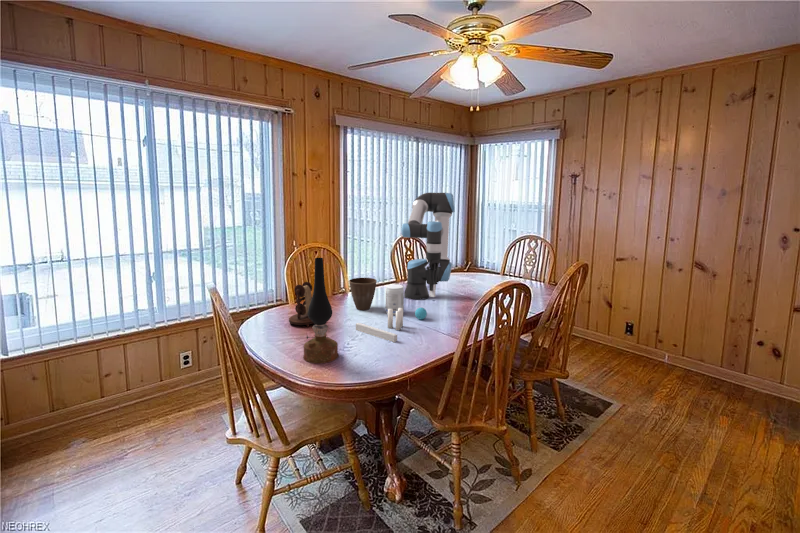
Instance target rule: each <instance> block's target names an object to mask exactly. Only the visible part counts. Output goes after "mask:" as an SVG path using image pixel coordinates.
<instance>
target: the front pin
mask: <svg viewBox="0 0 800 533" xmlns="http://www.w3.org/2000/svg"><path fill="white" fill-rule="evenodd" d="M398 311H401V328H403V327H402V326H404V312H403V308H398Z"/></svg>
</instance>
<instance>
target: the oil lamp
mask: <svg viewBox="0 0 800 533" xmlns="http://www.w3.org/2000/svg"><path fill="white" fill-rule="evenodd" d="M324 269H325V268H324V258H323V257H315V258H314V276H313V277H314V279H313V280H314V282H313V292H312V295H311V297H312V299H311V302H310V305H309V308H308V317H309V319H310V320H311V321H312V322H314V323H313V326H312V330H313V333H314V336H308V334H307V335H306V340H307V341H306V342H305V343H304V344H303V357H302V358H303V361H305V362H307V363H310V364H326V363H327V364H328V363H332V362H334V361H335V360H337V359H338V358H339V353H338V349H339V348H338V345H339V344H338V342H337V340H334V339H332V338H330V337H329V336H327V331H328V329H329V325H328V324H327V323H328V322H329V320H330V319H331V318H332V316H333V308H332V305H331V303H330V301H329V297H328V295H327V294H328V293H327V292H326V290H327V289H326V285H325V284H326V282H325V272H324V271H325V270H324ZM309 338H311V339H309ZM308 339H309V340H308Z"/></svg>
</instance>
